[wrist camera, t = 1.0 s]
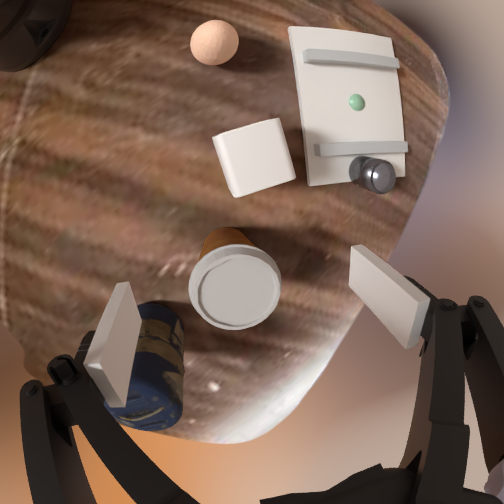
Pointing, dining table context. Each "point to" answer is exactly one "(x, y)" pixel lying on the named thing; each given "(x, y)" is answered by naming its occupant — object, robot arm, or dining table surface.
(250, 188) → the white rounded plastic box
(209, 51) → the egg
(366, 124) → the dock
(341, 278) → the dining table surface
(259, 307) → the disposable coffee cup
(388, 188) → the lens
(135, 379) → the canister
